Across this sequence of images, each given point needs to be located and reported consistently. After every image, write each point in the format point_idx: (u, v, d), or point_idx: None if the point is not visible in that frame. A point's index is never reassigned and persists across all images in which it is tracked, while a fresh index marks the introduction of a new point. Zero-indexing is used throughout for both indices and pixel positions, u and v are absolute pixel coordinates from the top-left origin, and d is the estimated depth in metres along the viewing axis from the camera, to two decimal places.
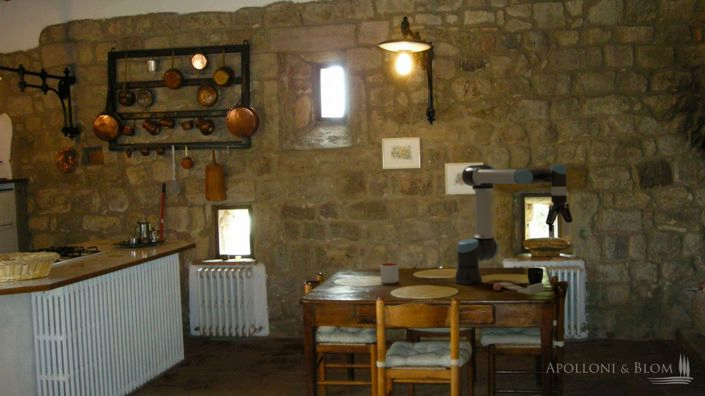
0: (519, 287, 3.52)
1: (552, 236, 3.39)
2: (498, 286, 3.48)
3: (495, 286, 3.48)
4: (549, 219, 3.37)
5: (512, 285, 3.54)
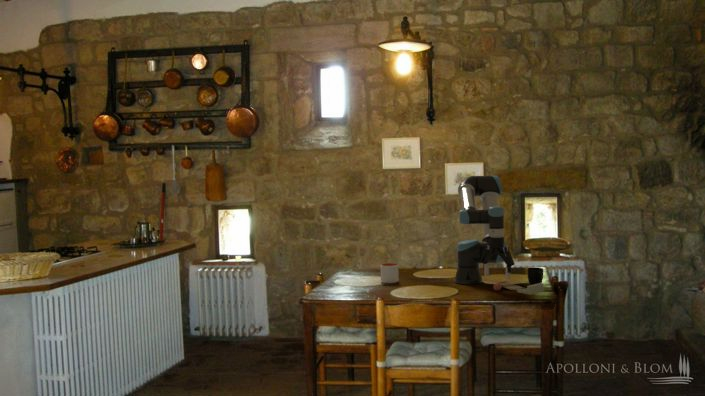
0: (519, 287, 3.52)
1: None
2: (498, 286, 3.48)
3: (495, 286, 3.48)
4: None
5: (512, 285, 3.54)
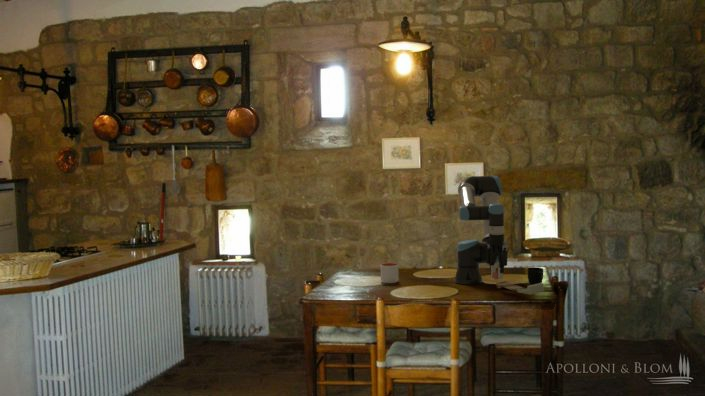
0: (519, 287, 3.52)
1: None
2: (497, 275, 3.48)
3: (494, 275, 3.48)
4: None
5: (512, 285, 3.54)
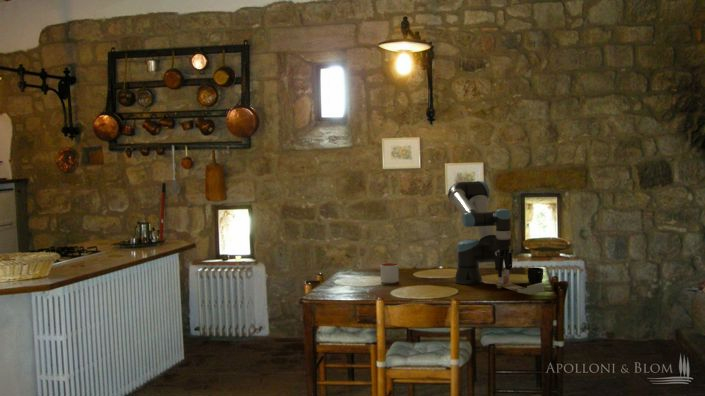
0: (519, 287, 3.52)
1: (501, 282, 3.55)
2: None
3: (507, 279, 3.56)
4: (497, 266, 3.52)
5: (512, 285, 3.54)
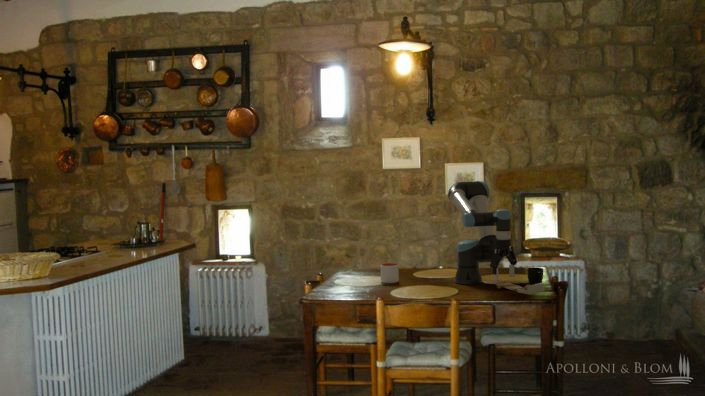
0: (519, 287, 3.52)
1: (496, 279, 3.52)
2: None
3: None
4: (493, 263, 3.50)
5: (512, 285, 3.54)
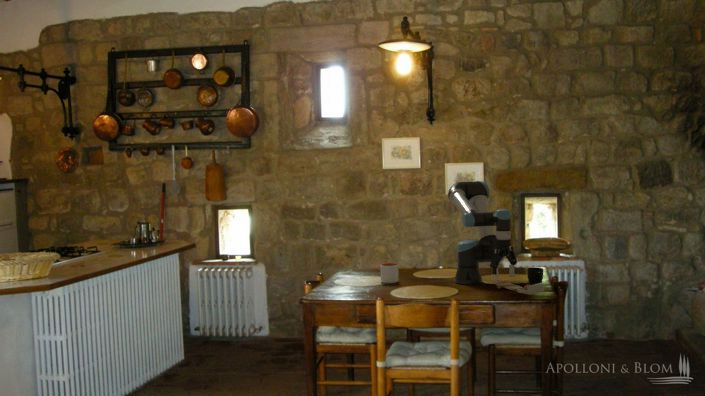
0: (519, 287, 3.52)
1: (496, 279, 3.52)
2: None
3: None
4: (493, 263, 3.50)
5: (512, 285, 3.54)
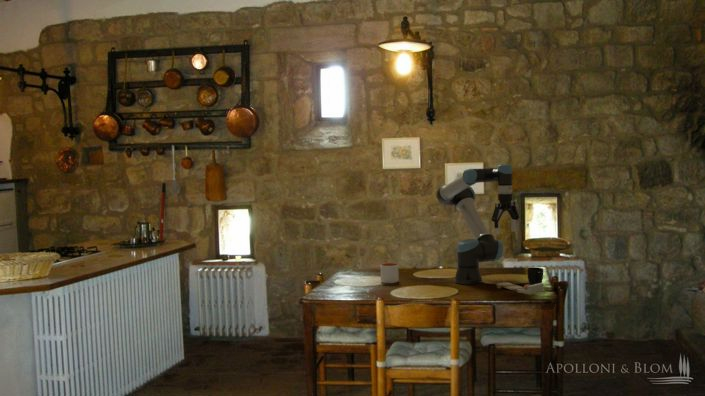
0: (519, 287, 3.52)
1: (498, 232, 3.57)
2: None
3: None
4: (494, 216, 3.55)
5: (512, 285, 3.54)
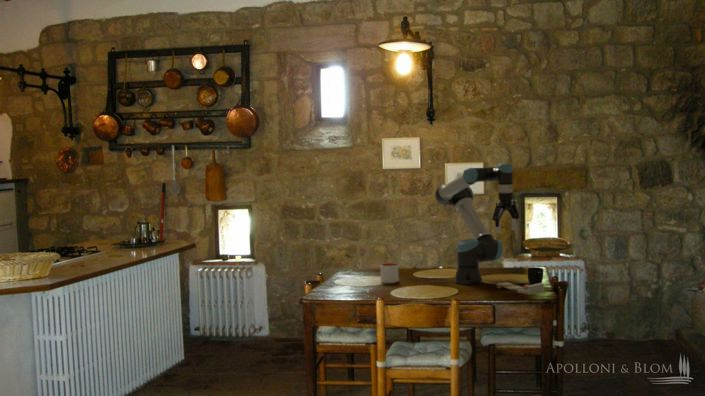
0: (519, 287, 3.52)
1: (498, 231, 3.58)
2: None
3: None
4: (495, 215, 3.56)
5: (512, 285, 3.54)
